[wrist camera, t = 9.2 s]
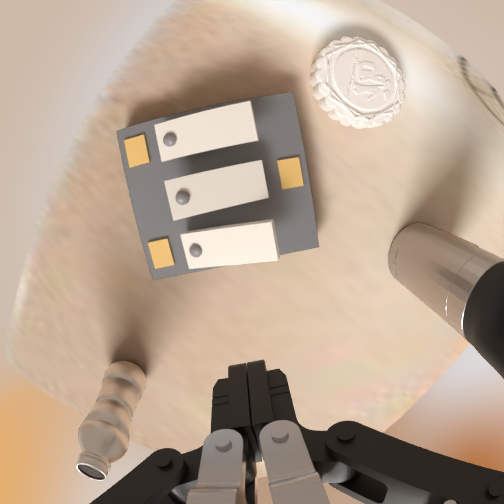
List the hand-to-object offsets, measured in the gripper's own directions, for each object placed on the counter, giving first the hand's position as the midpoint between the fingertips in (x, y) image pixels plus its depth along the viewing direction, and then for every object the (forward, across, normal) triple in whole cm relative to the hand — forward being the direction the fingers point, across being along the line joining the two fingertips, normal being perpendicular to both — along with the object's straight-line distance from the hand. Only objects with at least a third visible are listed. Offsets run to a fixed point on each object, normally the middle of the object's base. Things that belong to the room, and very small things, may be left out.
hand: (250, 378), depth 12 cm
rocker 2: (+22, +1, 0) cm, 22 cm away
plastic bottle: (+27, +21, +18) cm, 39 cm away
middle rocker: (+22, +1, -6) cm, 22 cm away
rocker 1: (+22, +1, -12) cm, 25 cm away
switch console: (+27, +1, -6) cm, 28 cm away
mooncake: (+28, -18, -16) cm, 37 cm away
